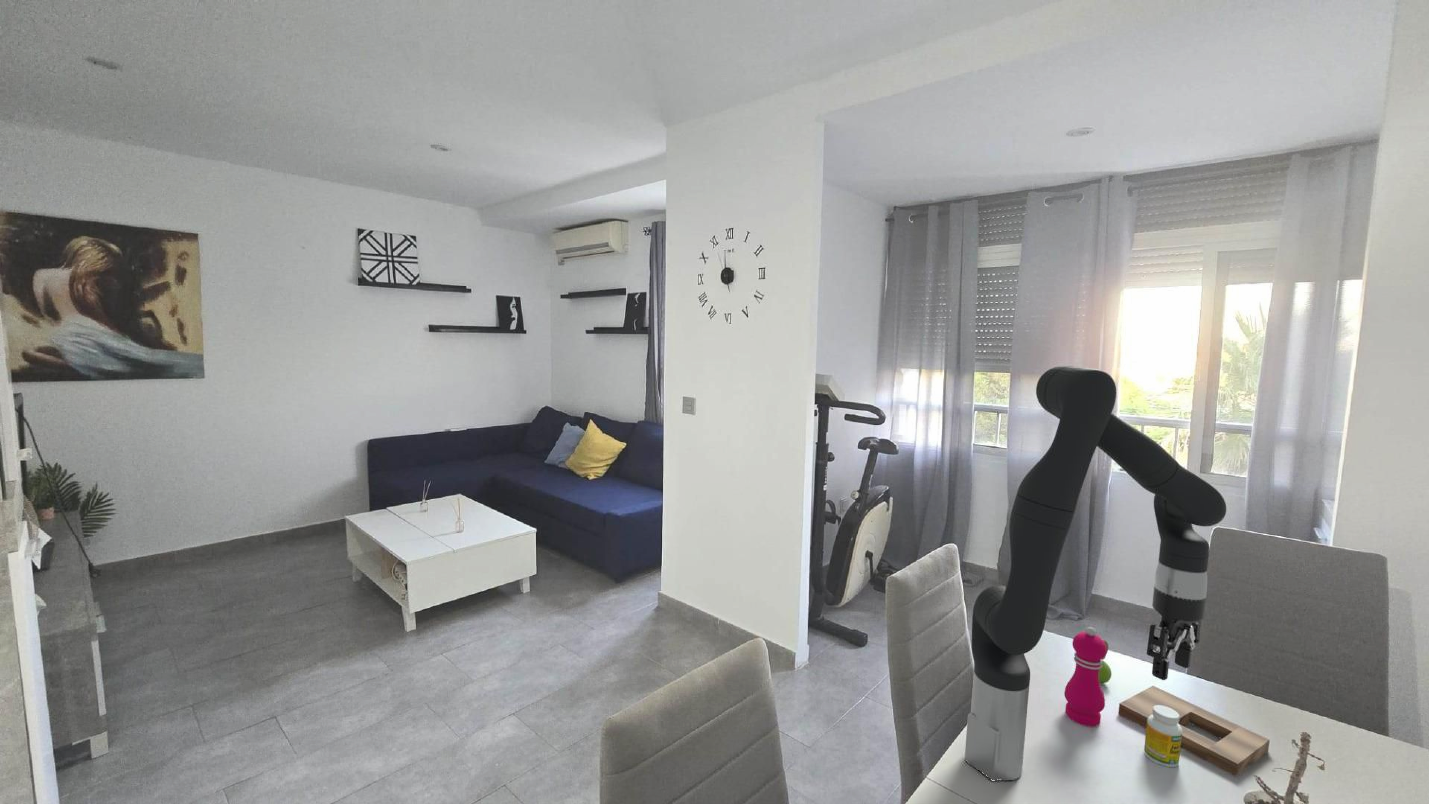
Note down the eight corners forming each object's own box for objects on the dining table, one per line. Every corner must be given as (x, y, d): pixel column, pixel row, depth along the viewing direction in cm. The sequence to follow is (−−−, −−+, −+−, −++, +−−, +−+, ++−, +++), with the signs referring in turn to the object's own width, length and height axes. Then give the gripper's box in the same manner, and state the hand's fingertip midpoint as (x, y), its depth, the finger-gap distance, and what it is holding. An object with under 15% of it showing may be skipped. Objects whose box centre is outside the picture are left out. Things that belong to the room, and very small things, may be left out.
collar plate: (1236, 776, 107) (1238, 764, 107) (1118, 714, 125) (1119, 703, 124) (1268, 751, 114) (1269, 739, 114) (1151, 696, 131) (1153, 685, 131)
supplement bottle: (1150, 744, 115) (1155, 699, 114) (1183, 761, 111) (1189, 714, 110) (1138, 754, 112) (1143, 708, 111) (1172, 772, 108) (1177, 724, 107)
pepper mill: (1091, 708, 127) (1100, 620, 124) (1110, 730, 119) (1119, 637, 117) (1056, 705, 127) (1064, 618, 125) (1073, 727, 120) (1081, 635, 118)
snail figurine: (1074, 679, 137) (1079, 630, 136) (1092, 673, 140) (1096, 625, 139) (1098, 692, 133) (1103, 641, 131) (1115, 685, 135) (1120, 636, 134)
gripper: (1185, 605, 101) (1175, 693, 103) (1222, 589, 108) (1212, 671, 110) (1136, 588, 108) (1128, 671, 110) (1175, 574, 115) (1166, 652, 116)
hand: (1170, 671), depth 110 cm, fingers open, 8 cm apart
